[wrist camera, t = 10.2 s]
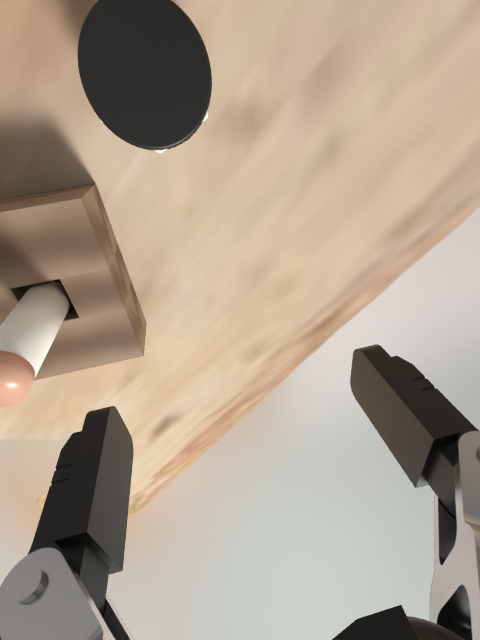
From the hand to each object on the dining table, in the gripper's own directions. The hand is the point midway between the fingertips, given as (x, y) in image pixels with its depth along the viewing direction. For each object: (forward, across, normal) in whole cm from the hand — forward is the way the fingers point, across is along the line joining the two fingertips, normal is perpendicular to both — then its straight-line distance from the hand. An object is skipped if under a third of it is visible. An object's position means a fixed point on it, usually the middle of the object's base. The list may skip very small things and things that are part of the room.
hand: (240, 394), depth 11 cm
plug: (+25, +16, +6) cm, 30 cm away
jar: (+30, +1, -10) cm, 32 cm away
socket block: (+30, +16, +6) cm, 35 cm away
